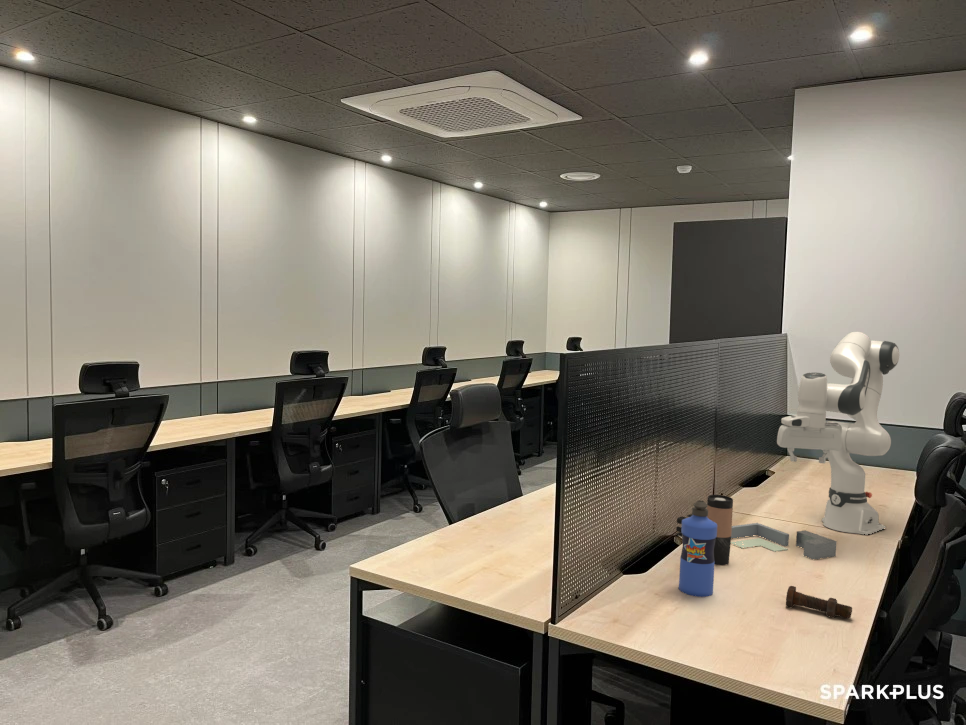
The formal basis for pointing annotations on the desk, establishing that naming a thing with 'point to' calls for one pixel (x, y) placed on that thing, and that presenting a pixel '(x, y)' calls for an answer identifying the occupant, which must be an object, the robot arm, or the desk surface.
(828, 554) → the bracket
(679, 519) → the end cap
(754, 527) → the corner walls
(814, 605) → the bolt
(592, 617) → the desk surface
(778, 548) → the mat
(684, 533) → the water bottle
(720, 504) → the travel mug
